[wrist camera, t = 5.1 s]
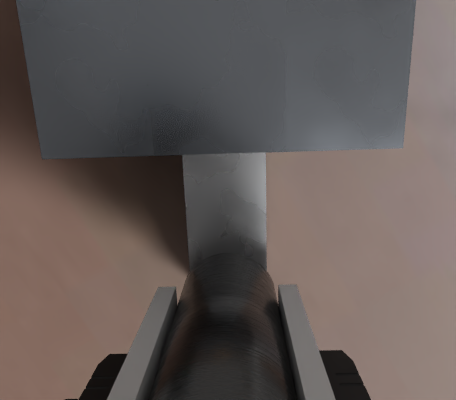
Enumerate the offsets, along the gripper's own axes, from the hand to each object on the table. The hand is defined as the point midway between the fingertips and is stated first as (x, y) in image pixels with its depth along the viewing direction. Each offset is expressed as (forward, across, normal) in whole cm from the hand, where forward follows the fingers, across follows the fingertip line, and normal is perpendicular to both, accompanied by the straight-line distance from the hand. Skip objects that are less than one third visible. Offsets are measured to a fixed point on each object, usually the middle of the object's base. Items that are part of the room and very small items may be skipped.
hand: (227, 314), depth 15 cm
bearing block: (+6, 0, +12) cm, 14 cm away
